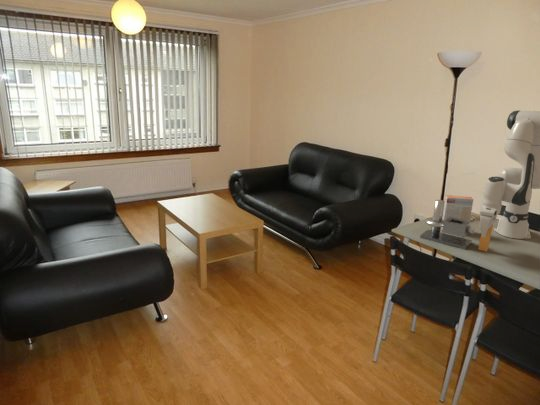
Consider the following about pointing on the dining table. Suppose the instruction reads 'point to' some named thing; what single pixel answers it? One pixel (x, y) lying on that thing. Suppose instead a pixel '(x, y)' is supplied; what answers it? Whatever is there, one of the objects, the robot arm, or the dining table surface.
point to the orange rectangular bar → (485, 240)
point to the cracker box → (457, 208)
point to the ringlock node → (447, 228)
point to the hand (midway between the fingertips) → (486, 234)
